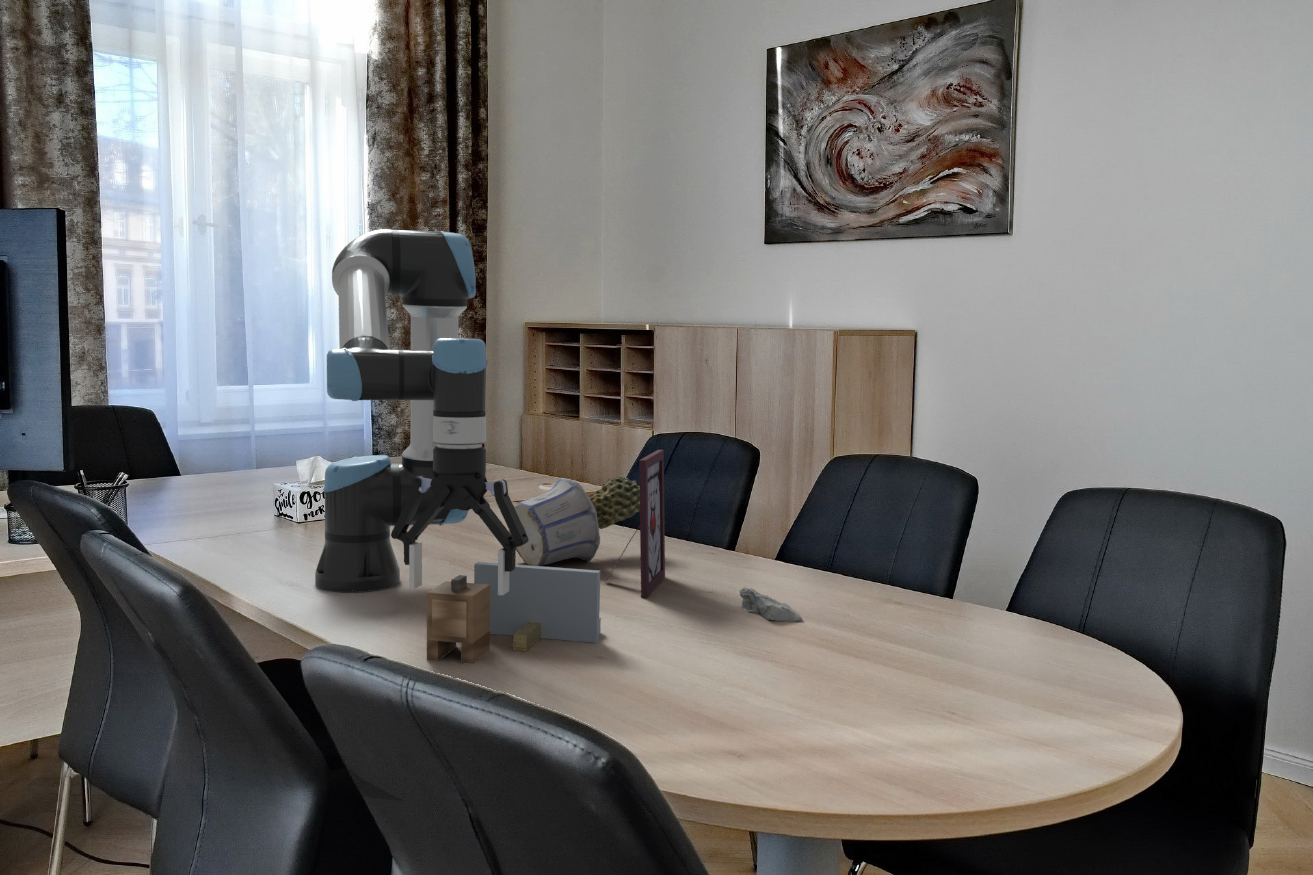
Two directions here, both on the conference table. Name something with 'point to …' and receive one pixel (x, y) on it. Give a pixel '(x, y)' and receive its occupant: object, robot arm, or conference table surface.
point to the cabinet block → (458, 619)
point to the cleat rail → (527, 636)
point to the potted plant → (573, 519)
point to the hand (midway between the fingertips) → (459, 590)
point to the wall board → (544, 601)
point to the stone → (767, 606)
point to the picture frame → (651, 522)
